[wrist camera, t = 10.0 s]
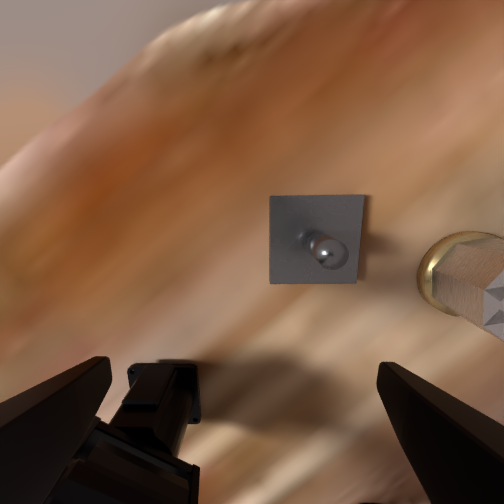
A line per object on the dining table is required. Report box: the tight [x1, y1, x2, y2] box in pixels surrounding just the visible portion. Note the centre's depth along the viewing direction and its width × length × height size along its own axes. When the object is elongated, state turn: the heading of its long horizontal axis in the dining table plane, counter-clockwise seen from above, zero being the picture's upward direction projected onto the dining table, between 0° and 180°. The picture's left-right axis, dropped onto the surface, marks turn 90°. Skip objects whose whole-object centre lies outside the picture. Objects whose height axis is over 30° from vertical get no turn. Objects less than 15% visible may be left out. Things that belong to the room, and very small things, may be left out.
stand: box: [269, 195, 364, 284], centre depth 17 cm, size 7×7×6 cm
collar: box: [432, 237, 504, 342], centre depth 17 cm, size 6×6×4 cm
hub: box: [417, 231, 501, 316], centre depth 17 cm, size 7×7×5 cm
